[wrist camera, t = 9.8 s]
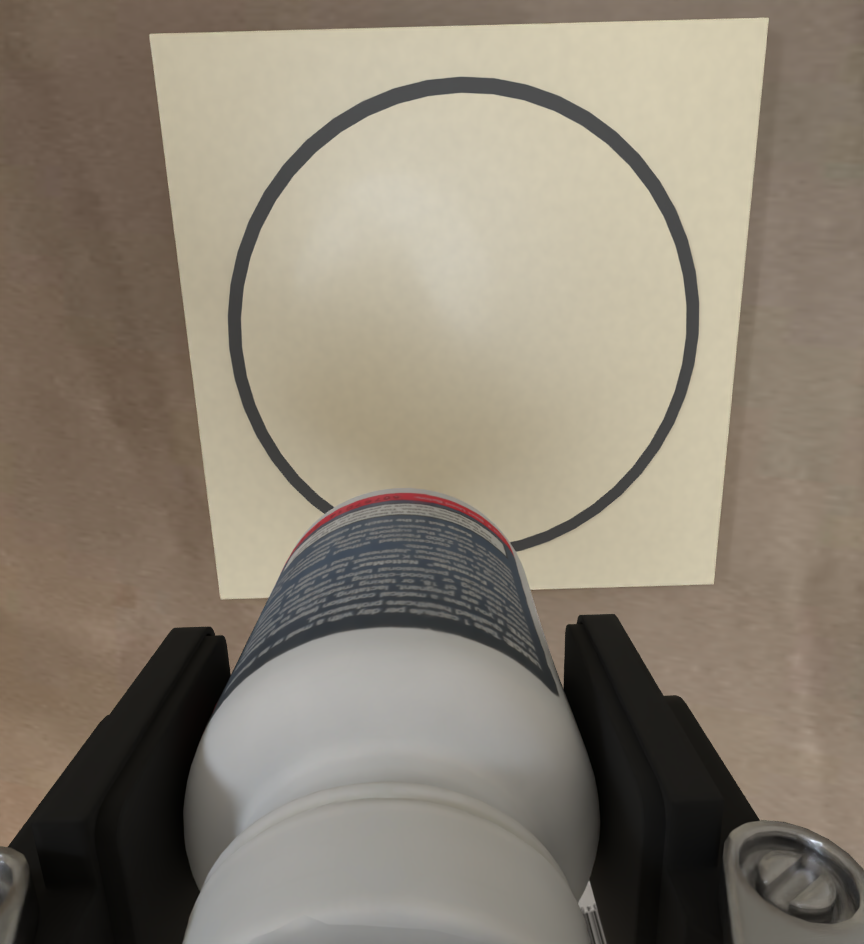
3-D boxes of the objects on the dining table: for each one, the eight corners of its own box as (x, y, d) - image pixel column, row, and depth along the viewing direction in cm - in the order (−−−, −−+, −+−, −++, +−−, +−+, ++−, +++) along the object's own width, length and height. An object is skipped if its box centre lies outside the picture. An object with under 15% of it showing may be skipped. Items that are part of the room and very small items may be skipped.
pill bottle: (239, 538, 14) (-74, 963, 5) (474, 443, 13) (568, 737, 5) (345, 738, 15) (240, 1341, 6) (561, 659, 14) (759, 1199, 6)
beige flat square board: (155, 39, 22) (145, 30, 21) (760, 24, 22) (772, 14, 21) (224, 593, 27) (218, 602, 26) (708, 578, 27) (716, 587, 26)
